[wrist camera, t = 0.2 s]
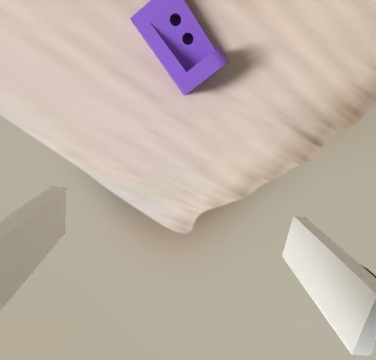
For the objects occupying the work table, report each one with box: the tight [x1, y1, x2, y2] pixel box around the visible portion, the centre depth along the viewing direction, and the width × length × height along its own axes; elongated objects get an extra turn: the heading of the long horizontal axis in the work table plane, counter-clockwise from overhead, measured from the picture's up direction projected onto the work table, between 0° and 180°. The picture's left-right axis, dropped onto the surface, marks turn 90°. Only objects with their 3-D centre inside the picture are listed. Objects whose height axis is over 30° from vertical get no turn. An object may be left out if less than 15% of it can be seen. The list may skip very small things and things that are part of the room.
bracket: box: [130, 0, 229, 95], centre depth 34 cm, size 12×7×7 cm, turn 36°
